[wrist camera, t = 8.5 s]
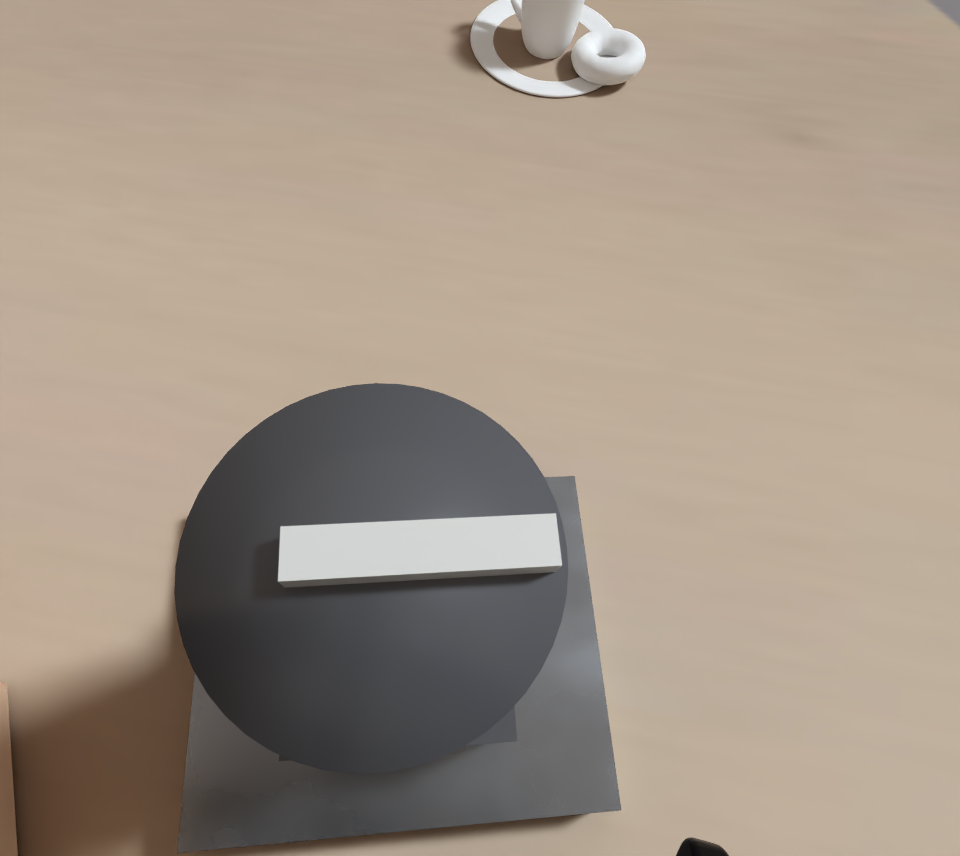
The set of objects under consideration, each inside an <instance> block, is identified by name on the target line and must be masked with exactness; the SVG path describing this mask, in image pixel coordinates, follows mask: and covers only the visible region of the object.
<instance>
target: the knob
mask: <svg viewBox="0 0 960 856" xmlns="http://www.w3.org/2000/svg"><path fill="white" fill-rule="evenodd" d="M567 584H568V555H567V544H566V538H565V533H564V528H563V523H562V519H561V516H560V513H559V510H558V507H557V504H556V501H555V498H554V496H553V494H552V492H551V490H550V488H549V486H548V484H547V482H546V480H545V478H544V476H543V475H542V473H541V471H540V470H539V468H538V467H537V465H536V464H535V462H534V461H533V459H532V458H531V457H530V455H529V454H528V453H527V452H526V451H525V449H524V448H523V447H522V446H521V445H520V443H519V442H518V441H517V440H516V439H515V438H514V437H513V436H511V435H510V434H509V433H508V432H507V431H506V430H505V429H504V428H503V427H502V426H501V425H499V424H498V423H496V422H495V421H494V420H492V419H491V418H490V417H488V416H487V415H485V414H484V413H483V412H481V411H479V410H477V409H475V408H473V407H472V406H470V405H468V404H466V403H464V402H462V401H460V400H457V399H455V398H452V397H450V396H448V395H445V394H443V393H439V392H435V391H432V390H428V389H424V388H421V387H414V386H407V385H400V384H377V383H375V384H363V385H352V386H347V387H342V388H337V389H332V390H328V391H325V392H322V393H319V394H316V395H313V396H310V397H307V398H304V399H302V400H300V401H298V402H296V403H293V404H291V405H289V406H287V407H285V408H283V409H282V410H280V411H278V412H277V413H275V414H273V415H272V416H270V417H268V418H267V419H265V420H264V421H262V422H261V423H260V424H259V425H257V426H256V427H255V428H253V429H252V430H251V431H249V432H248V433H247V434H246V435H245V436H244V437H243V438H241V439H240V440H239V441H238V442H237V443H236V444H235V445H234V446H233V447H232V448H231V449H230V450H229V451H228V452H227V454H226V455H225V456H224V457H223V459H222V460H221V461H220V462H219V464H218V465H217V466H216V467H215V469H214V470H213V471H212V472H211V474H210V476H209V477H208V479H207V481H206V482H205V484H204V485H203V487H202V489H201V490H200V492H199V494H198V496H197V498H196V500H195V502H194V504H193V507H192V509H191V511H190V513H189V515H188V518H187V521H186V524H185V528H184V531H183V534H182V537H181V540H180V545H179V551H178V557H177V562H176V573H175V602H176V612H177V621H178V625H179V629H180V633H181V637H182V641H183V645H184V648H185V650H186V653H187V655H188V658H189V660H190V663H191V665H192V668H193V670H194V672H195V674H196V675H197V677H198V679H199V681H200V682H201V684H202V686H203V687H204V689H205V691H206V692H207V694H208V695H209V697H210V698H211V699H212V700H213V702H214V703H215V704H216V705H217V707H218V708H219V709H220V710H221V711H222V713H223V714H224V715H225V716H226V717H227V718H228V719H229V720H230V721H231V722H232V723H233V724H235V725H236V726H237V727H238V728H239V729H240V730H241V731H242V732H243V733H244V734H246V735H247V736H249V737H250V738H252V739H253V740H255V741H256V742H258V743H259V744H261V745H262V746H264V747H265V748H267V749H268V750H270V751H272V752H274V753H277V754H279V761H290V760H292V761H294V762H297V763H300V764H304V765H307V766H311V767H314V768H317V769H321V770H327V771H334V772H342V773H349V774H364V773H385V772H391V771H397V770H403V769H409V768H412V767H415V766H419V765H422V764H425V763H428V762H431V761H435V760H437V759H439V758H442V757H444V756H446V755H448V754H450V753H452V752H454V751H456V750H458V749H461V748H463V747H464V746H468V745H480V744H492V743H504V742H516V741H517V731H516V719H515V707H514V706H515V704H516V703H517V702H518V701H519V700H520V699H521V698H522V697H523V695H524V694H525V693H526V692H527V690H528V689H529V687H530V686H531V684H532V683H533V681H534V680H535V678H536V677H537V675H538V674H539V672H540V671H541V669H542V667H543V665H544V663H545V661H546V659H547V657H548V655H549V653H550V651H551V649H552V647H553V645H554V642H555V639H556V636H557V633H558V630H559V627H560V624H561V621H562V616H563V611H564V606H565V602H566V597H567Z"/></svg>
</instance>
